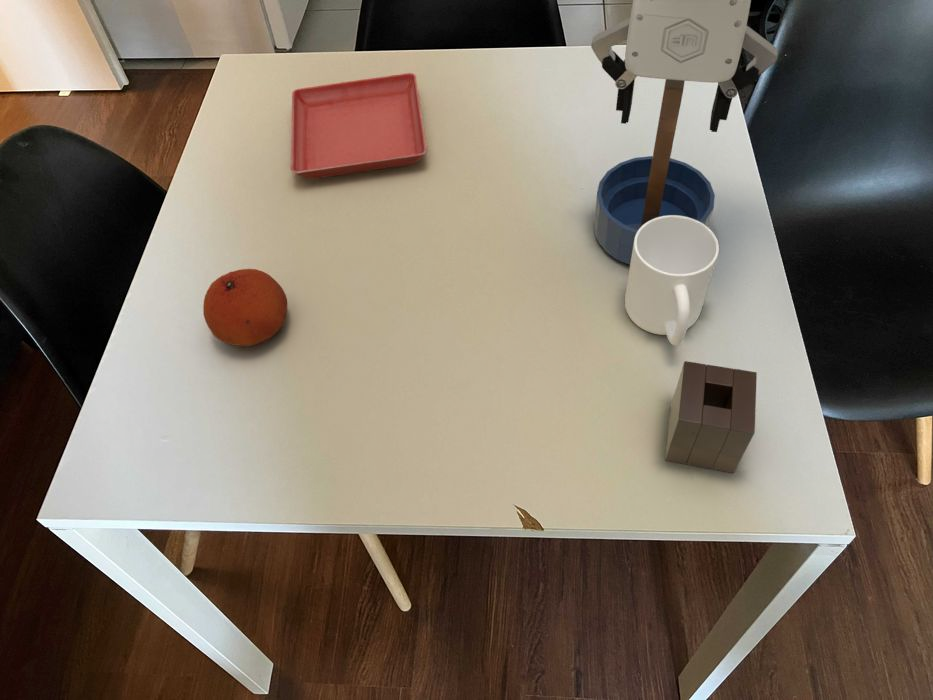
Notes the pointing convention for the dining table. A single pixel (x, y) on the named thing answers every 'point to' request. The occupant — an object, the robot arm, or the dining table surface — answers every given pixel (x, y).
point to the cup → (670, 275)
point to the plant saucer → (356, 126)
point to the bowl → (627, 196)
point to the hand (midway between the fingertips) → (669, 118)
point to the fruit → (244, 307)
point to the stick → (662, 148)
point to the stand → (711, 416)
